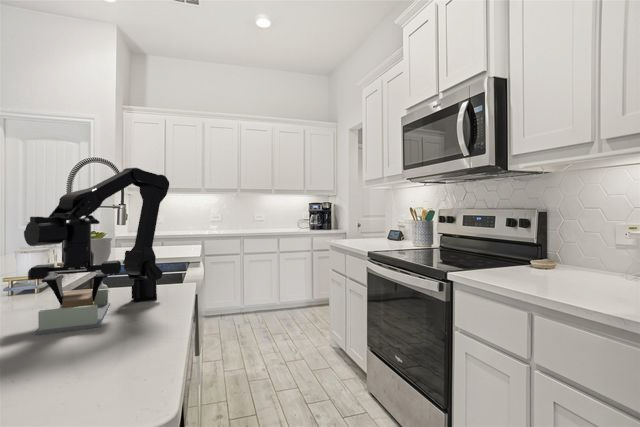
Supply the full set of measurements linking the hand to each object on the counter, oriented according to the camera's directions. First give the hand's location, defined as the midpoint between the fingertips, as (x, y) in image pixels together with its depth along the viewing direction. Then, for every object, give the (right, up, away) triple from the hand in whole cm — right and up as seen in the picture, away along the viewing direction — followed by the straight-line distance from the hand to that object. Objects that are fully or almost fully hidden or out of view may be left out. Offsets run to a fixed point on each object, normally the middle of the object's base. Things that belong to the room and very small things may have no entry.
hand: (78, 302), depth 86 cm
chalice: (-12, -4, +27) cm, 30 cm away
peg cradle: (0, -4, 0) cm, 4 cm away
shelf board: (0, -1, 0) cm, 1 cm away
